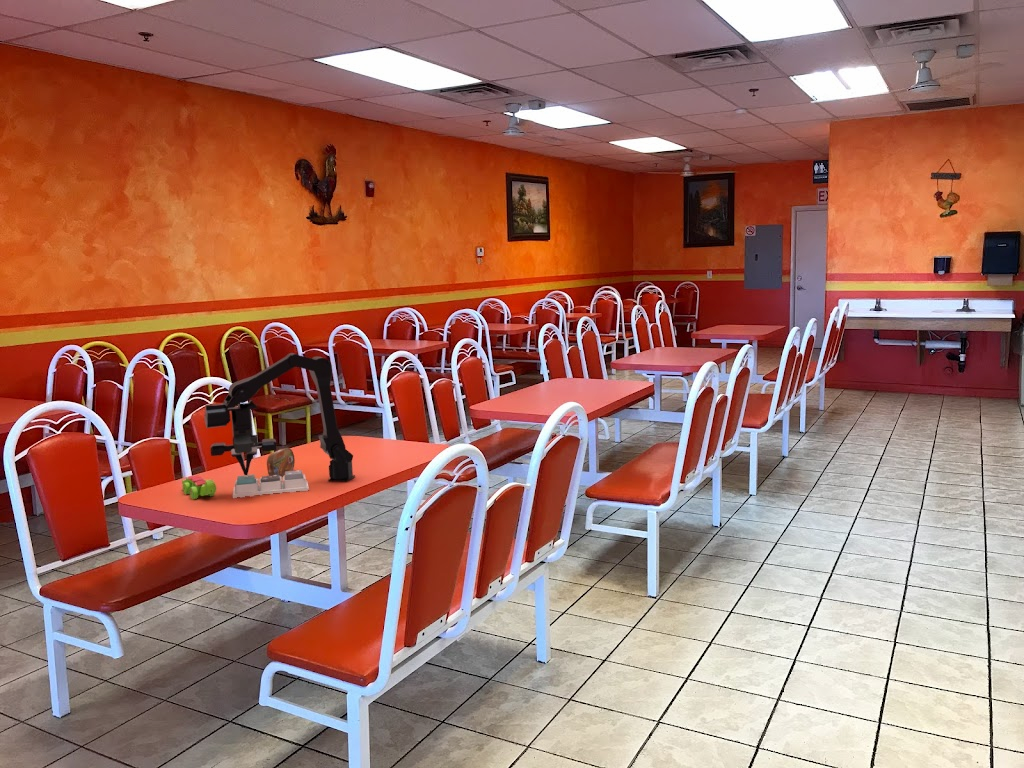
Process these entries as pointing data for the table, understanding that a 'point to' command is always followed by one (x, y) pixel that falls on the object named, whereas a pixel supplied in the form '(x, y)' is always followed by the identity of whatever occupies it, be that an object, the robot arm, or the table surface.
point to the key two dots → (293, 475)
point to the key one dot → (246, 479)
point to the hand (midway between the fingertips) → (246, 474)
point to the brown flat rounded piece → (280, 462)
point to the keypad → (270, 487)
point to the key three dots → (270, 478)
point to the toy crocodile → (198, 486)
